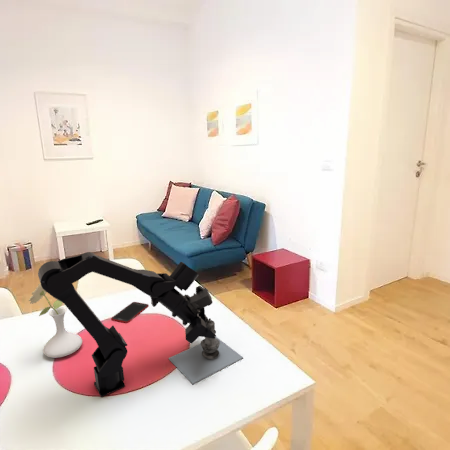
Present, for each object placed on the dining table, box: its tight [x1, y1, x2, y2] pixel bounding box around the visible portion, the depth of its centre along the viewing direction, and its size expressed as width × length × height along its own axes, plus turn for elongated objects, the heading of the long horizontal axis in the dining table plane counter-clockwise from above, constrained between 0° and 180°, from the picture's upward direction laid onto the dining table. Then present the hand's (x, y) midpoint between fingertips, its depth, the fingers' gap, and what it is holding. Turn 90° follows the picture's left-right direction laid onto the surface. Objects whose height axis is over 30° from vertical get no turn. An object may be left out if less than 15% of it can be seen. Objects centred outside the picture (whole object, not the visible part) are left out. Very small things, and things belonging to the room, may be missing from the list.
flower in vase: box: [28, 283, 83, 359], centre depth 102 cm, size 13×11×25 cm
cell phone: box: [110, 301, 150, 324], centre depth 129 cm, size 8×15×1 cm, turn 159°
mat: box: [167, 336, 244, 385], centre depth 100 cm, size 18×14×1 cm
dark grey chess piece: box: [200, 318, 220, 359], centre depth 100 cm, size 6×6×12 cm
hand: (214, 333), depth 100 cm, fingers closed on dark grey chess piece, 3 cm apart
